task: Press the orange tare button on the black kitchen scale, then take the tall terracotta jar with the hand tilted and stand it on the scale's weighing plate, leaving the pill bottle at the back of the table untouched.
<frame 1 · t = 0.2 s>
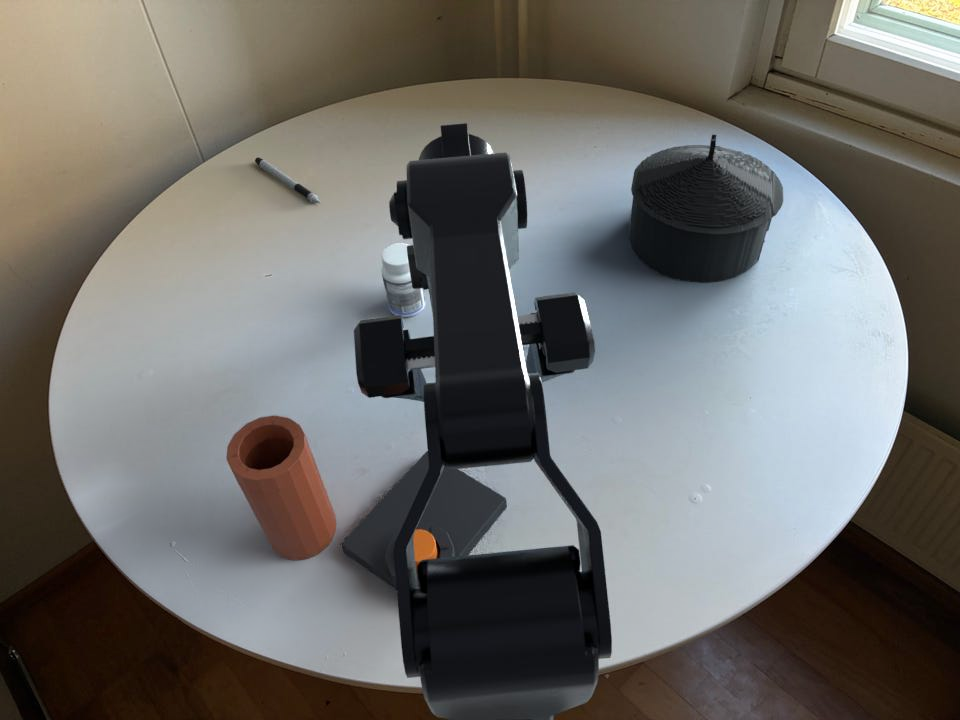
hand: (477, 389, 69), 13 cm above the table, tool pointing down, fingers open, 9 cm apart
pill bottle: (407, 306, 96), on the table
hut: (695, 240, 101), on the table
pen: (288, 185, 115), on the table
jar: (303, 529, 75), on the table
scale: (426, 529, 74), on the table
tare button: (418, 549, 69), point 4 cm above the table, slide at 0.1 cm
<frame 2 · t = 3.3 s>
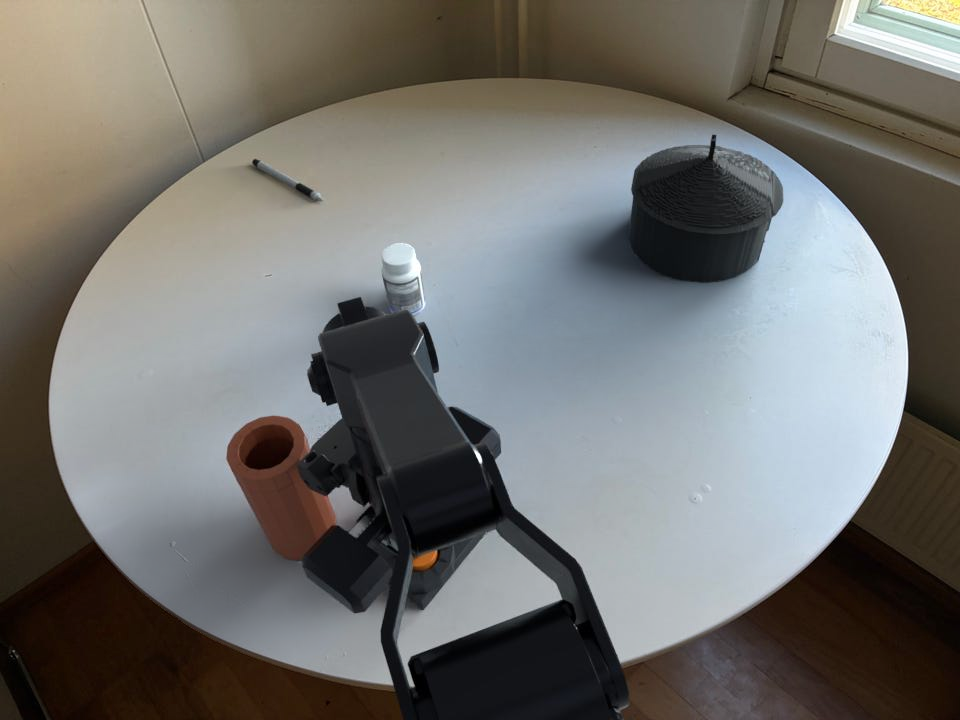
hand: (419, 550, 69), 4 cm above the table, tool pointing down, fingers closed, pressing on tare button
tare button: (419, 554, 69), point 3 cm above the table, slide at -0.8 cm, touching gripper
everything else where it was.
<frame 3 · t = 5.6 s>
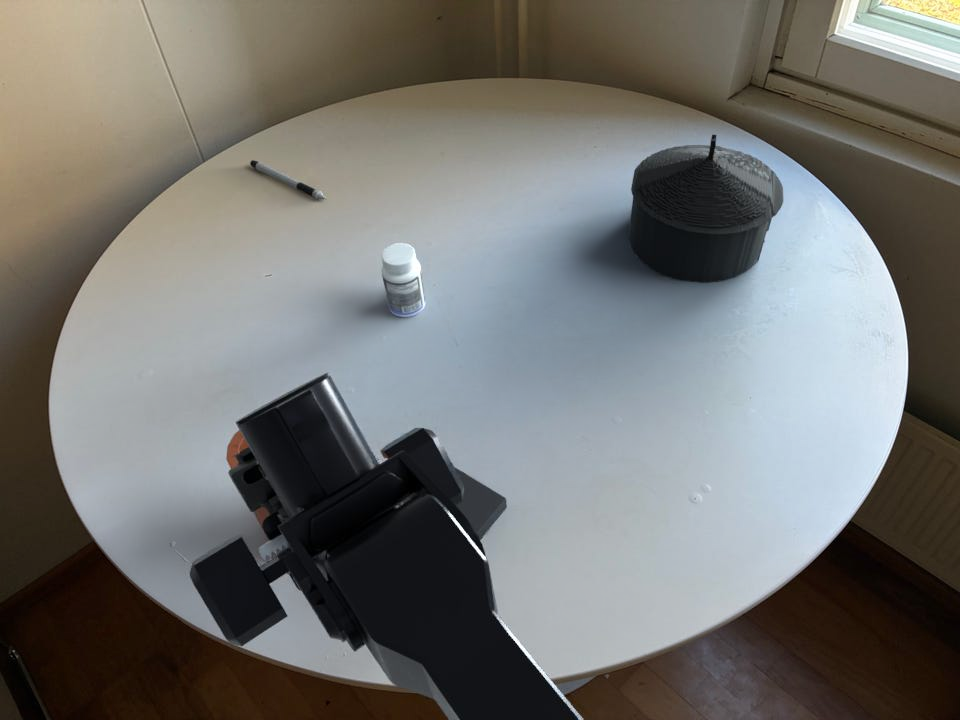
hand: (314, 516, 61), 13 cm above the table, tool tilted 45°, fingers closed
tare button: (418, 549, 69), point 4 cm above the table, slide at 0.1 cm
everything else where it was.
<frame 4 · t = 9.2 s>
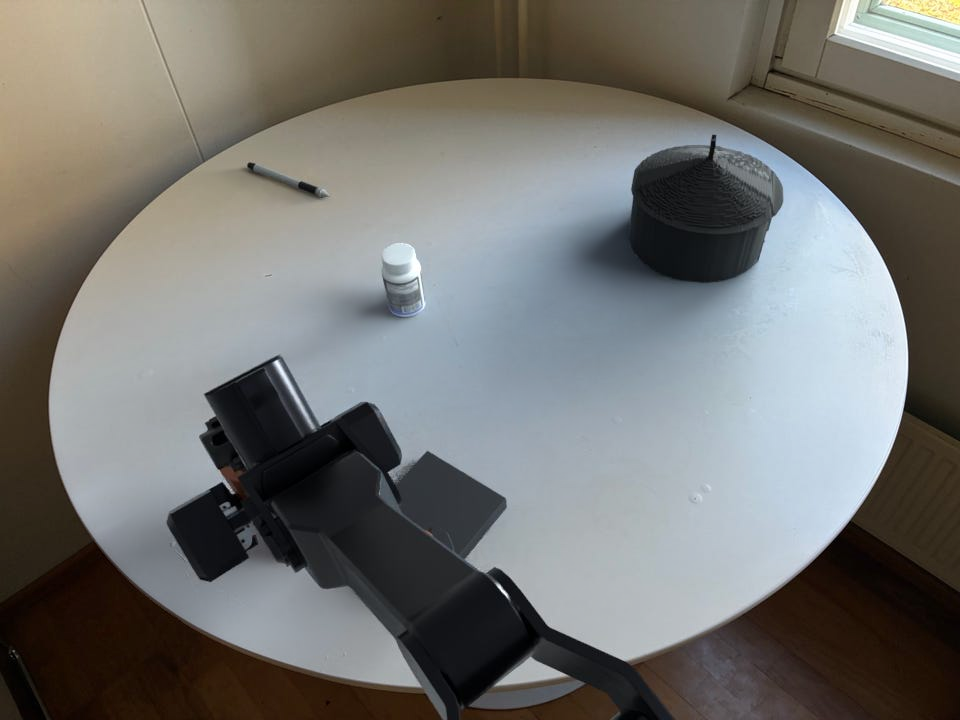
hand: (275, 478, 71), 7 cm above the table, tool tilted 45°, fingers closed on jar, 7 cm apart
jar: (303, 528, 75), on the table, touching gripper
everything else where it was.
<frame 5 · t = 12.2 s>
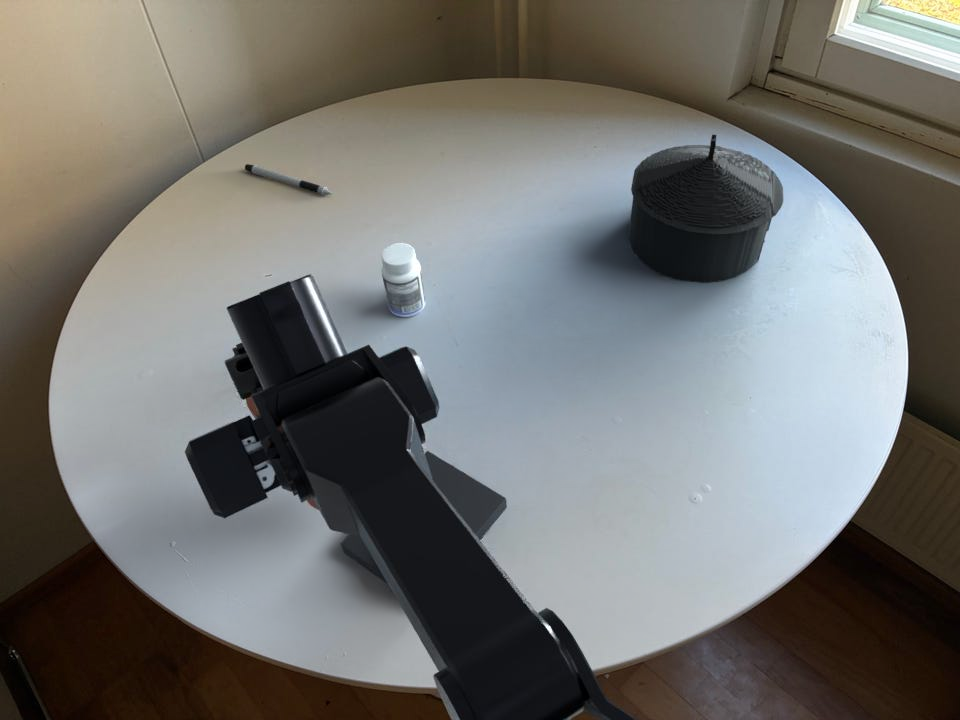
hand: (307, 423, 67), 13 cm above the table, tool tilted 45°, fingers closed on jar, 7 cm apart
jar: (337, 481, 71), point 6 cm above the table, tilted 6°, touching gripper
when the fingers open (9 cm above the table, at t = 15.5 s): jar stays where it is, resting on scale.
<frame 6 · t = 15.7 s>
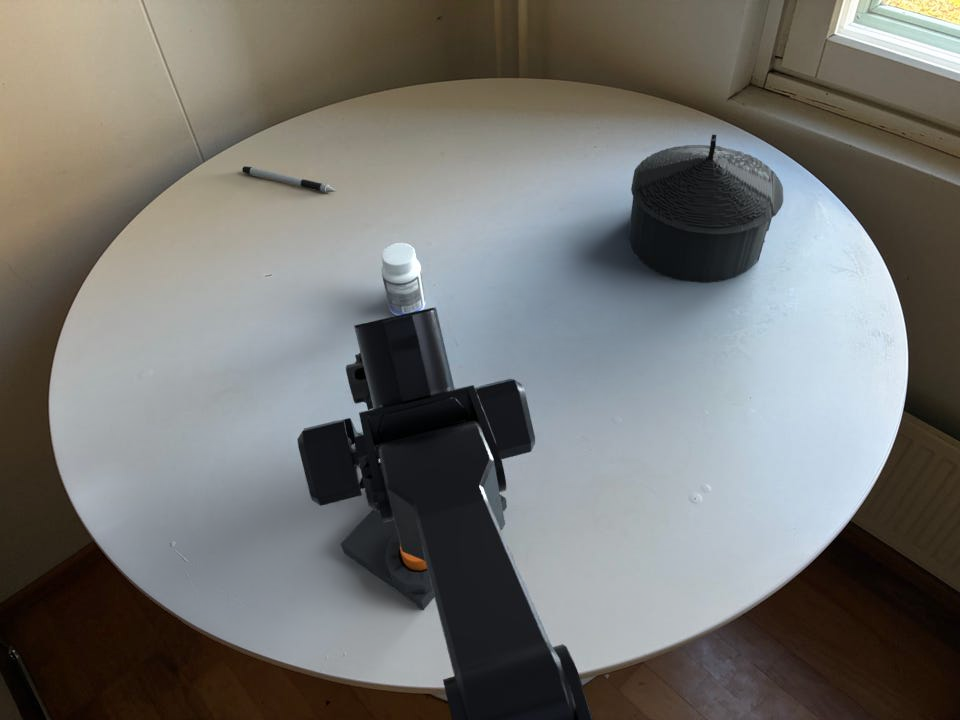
hand: (412, 428, 71), 9 cm above the table, tool tilted 45°, fingers open, 9 cm apart
jar: (432, 487, 75), point 2 cm above the table, touching gripper, scale
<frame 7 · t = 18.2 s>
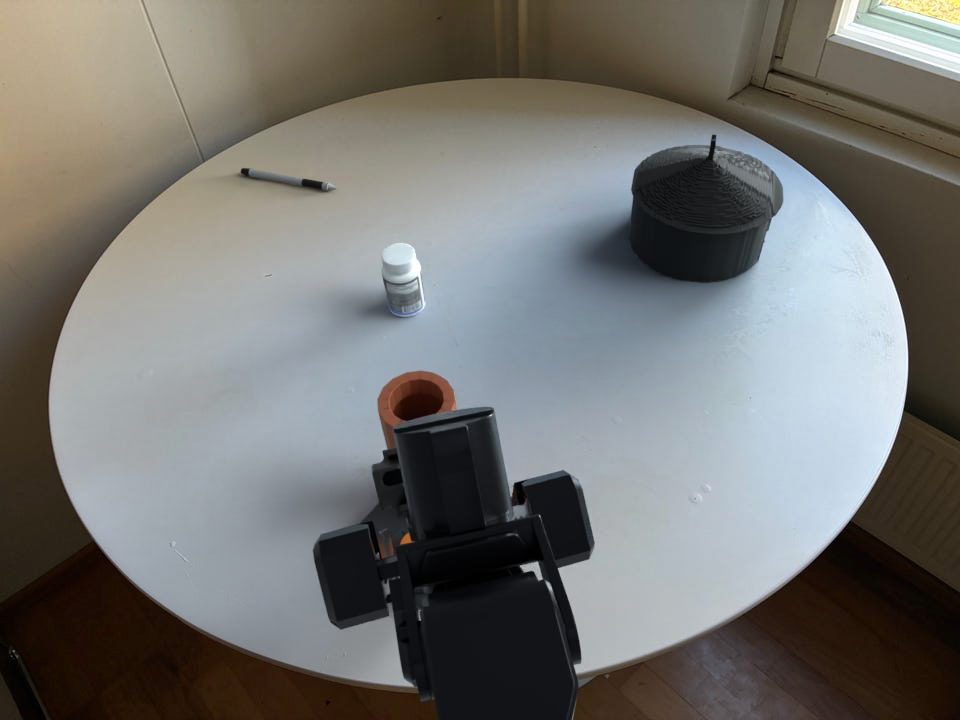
hand: (443, 519, 61), 12 cm above the table, tool tilted 45°, fingers open, 9 cm apart
jar: (432, 489, 75), point 2 cm above the table, touching scale
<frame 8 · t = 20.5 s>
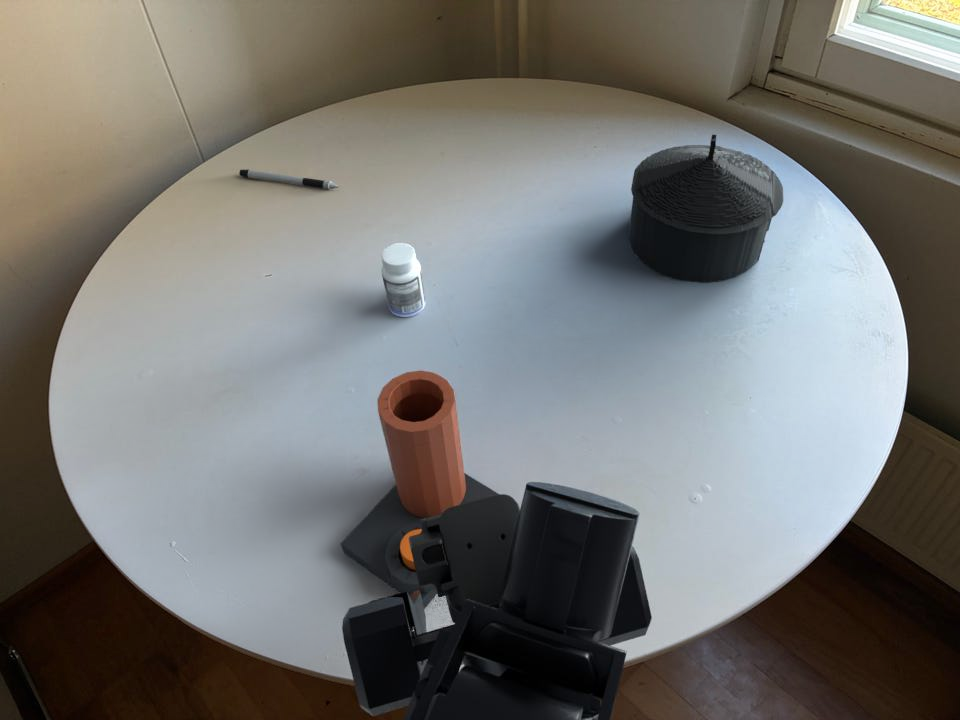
hand: (479, 580, 56), 14 cm above the table, tool tilted 45°, fingers open, 9 cm apart
at the end: tare button pushed in 1.1 cm at the most during the clip, back to where it started at the end; jar inside the target area on the scale (3.6 cm from its centre), point 1.7 cm above the scale's base; pill bottle moved 0.2 cm from its start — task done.
